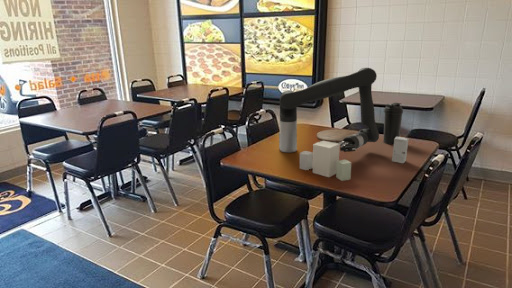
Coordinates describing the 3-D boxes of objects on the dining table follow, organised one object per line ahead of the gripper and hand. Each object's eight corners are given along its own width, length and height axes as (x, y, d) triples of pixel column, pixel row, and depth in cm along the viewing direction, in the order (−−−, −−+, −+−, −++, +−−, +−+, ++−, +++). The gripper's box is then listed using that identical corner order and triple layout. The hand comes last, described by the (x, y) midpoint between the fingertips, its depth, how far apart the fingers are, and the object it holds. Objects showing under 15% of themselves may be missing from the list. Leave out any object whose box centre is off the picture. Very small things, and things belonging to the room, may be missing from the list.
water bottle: (404, 143, 212) (407, 104, 206) (390, 145, 209) (393, 105, 202) (391, 138, 221) (395, 101, 215) (378, 141, 218) (380, 102, 211)
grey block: (299, 168, 179) (299, 153, 176) (305, 166, 182) (305, 150, 179) (307, 170, 176) (307, 154, 173) (312, 168, 179) (312, 152, 176)
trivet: (365, 136, 228) (365, 134, 228) (342, 146, 212) (343, 143, 211) (331, 130, 246) (331, 127, 245) (308, 138, 229) (308, 135, 229)
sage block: (336, 177, 167) (336, 160, 164) (344, 175, 168) (345, 159, 166) (341, 180, 163) (342, 164, 160) (350, 179, 164) (351, 162, 162)
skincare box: (391, 161, 184) (393, 138, 180) (393, 159, 188) (395, 136, 184) (404, 163, 181) (406, 140, 177) (406, 161, 184) (408, 137, 181)
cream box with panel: (328, 177, 167) (329, 148, 163) (312, 172, 173) (313, 144, 169) (338, 172, 172) (339, 143, 168) (322, 168, 178) (323, 140, 174)
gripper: (341, 133, 190) (323, 140, 178) (365, 137, 181) (347, 145, 169) (341, 146, 192) (322, 155, 180) (364, 151, 183) (346, 161, 172)
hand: (334, 150), depth 175 cm, fingers closed
